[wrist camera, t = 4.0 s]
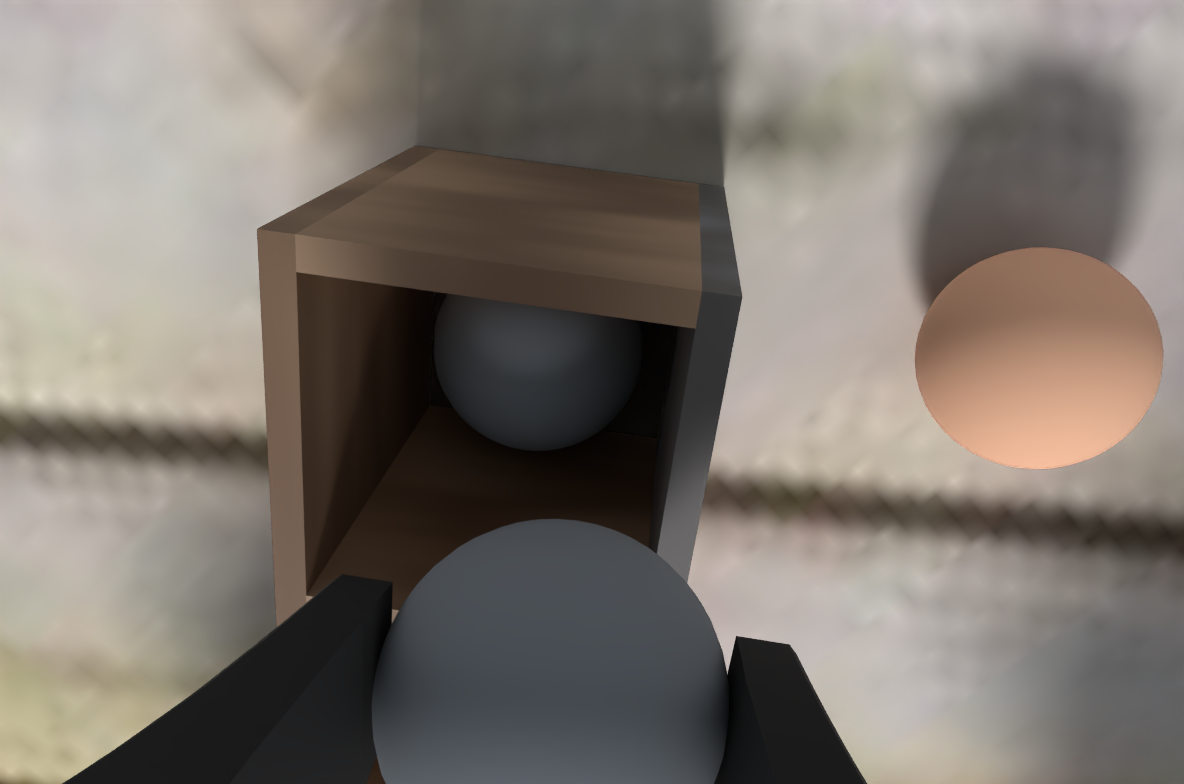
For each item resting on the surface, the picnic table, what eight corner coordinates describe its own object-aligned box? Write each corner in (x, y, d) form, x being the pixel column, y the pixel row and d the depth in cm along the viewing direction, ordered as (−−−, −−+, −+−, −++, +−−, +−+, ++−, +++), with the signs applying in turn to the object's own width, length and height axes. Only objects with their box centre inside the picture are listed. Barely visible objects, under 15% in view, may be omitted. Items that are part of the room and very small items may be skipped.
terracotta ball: (1134, 239, 17) (1256, 304, 13) (1064, 424, 18) (1155, 527, 15) (924, 211, 17) (987, 268, 13) (874, 396, 19) (917, 492, 15)
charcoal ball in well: (660, 234, 18) (652, 294, 14) (634, 410, 19) (620, 505, 16) (466, 207, 18) (408, 260, 14) (457, 384, 20) (403, 472, 16)
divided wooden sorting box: (723, 186, 17) (742, 296, 11) (642, 657, 22) (621, 921, 16) (414, 145, 18) (256, 228, 11) (402, 618, 22) (288, 862, 16)
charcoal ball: (745, 480, 11) (782, 724, 7) (695, 720, 13) (704, 1013, 9) (429, 437, 11) (309, 656, 7) (421, 679, 13) (319, 954, 9)
